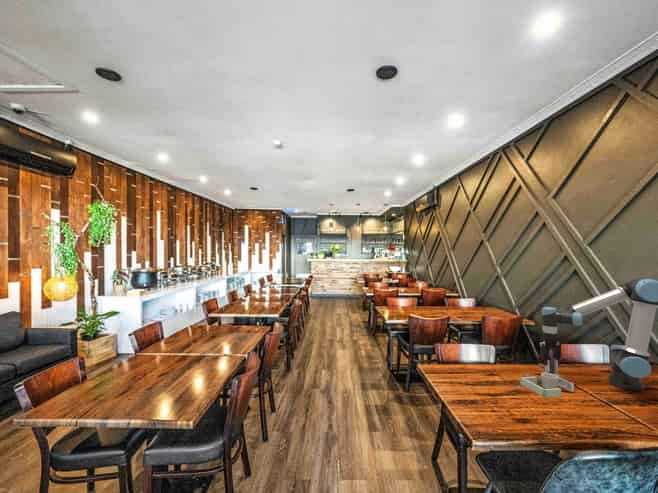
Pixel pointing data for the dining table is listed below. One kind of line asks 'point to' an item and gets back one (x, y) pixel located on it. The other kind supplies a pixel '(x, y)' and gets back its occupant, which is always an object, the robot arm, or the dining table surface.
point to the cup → (550, 381)
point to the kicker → (565, 383)
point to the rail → (539, 378)
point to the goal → (531, 384)
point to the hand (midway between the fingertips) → (551, 370)
